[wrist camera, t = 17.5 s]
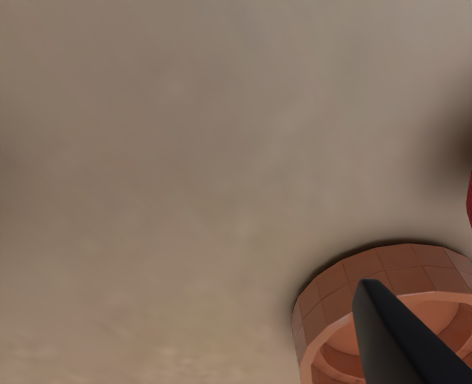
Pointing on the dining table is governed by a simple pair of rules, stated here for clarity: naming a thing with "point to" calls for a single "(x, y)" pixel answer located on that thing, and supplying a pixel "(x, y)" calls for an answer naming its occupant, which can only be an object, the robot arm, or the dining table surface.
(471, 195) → the strawberry
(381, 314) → the robot arm
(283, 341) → the dining table surface
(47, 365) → the dining table surface
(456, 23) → the dining table surface
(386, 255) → the pot
